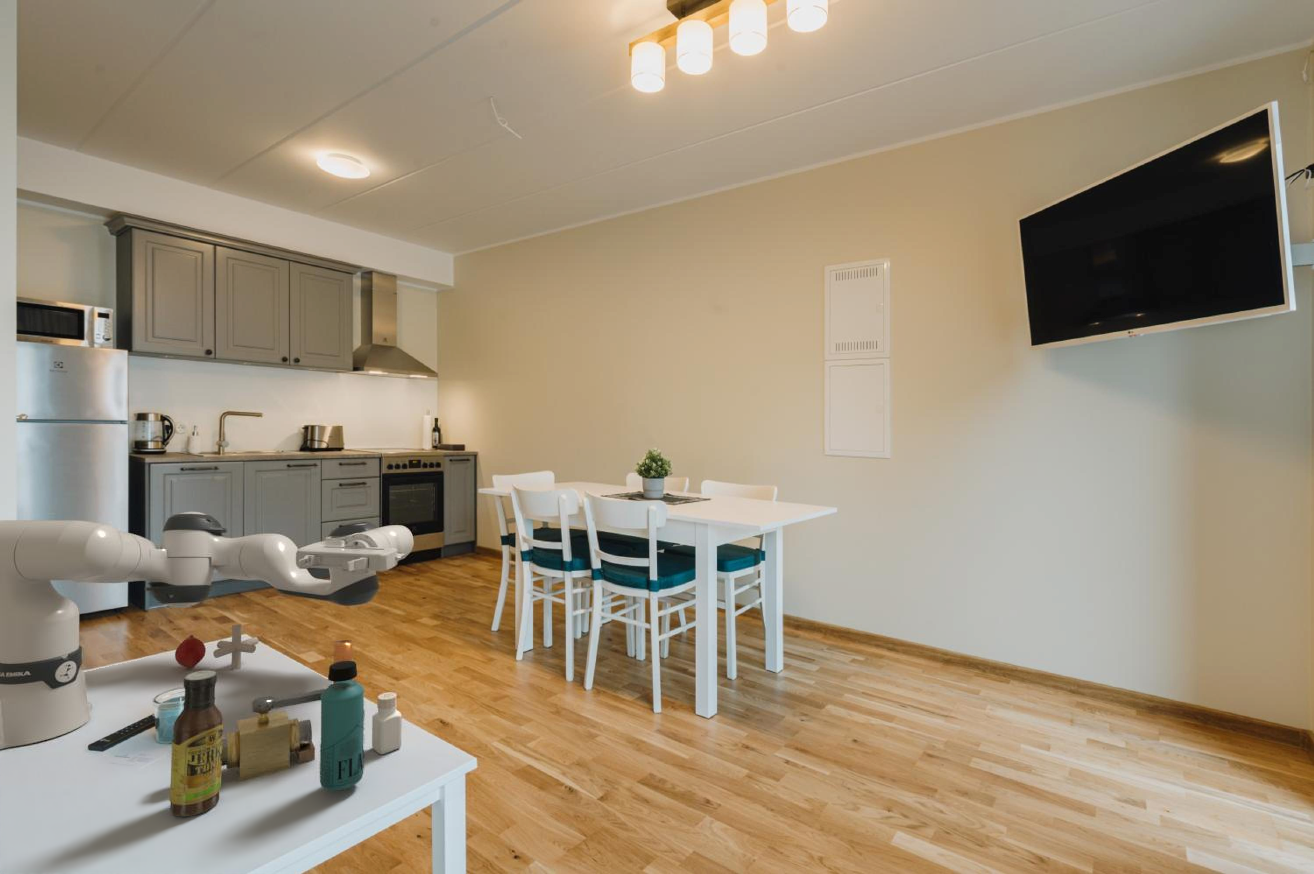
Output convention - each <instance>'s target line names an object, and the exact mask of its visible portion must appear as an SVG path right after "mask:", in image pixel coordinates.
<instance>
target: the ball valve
mask: <svg viewBox="0 0 1314 874" xmlns="http://www.w3.org/2000/svg"><path fill="white" fill-rule="evenodd" d="M312 738H313V730H312V722H311V719H310V718H308V719H305V720H301V721H300V720H299V719H298V717H295V718H290V719H289V718H288V716H287V713H286V710H281V711H275V712H272V713H270V711H267V712H262V713H257V716H254V717H253V716H252V717H248V718H244V719H240V720H237V721H236V731H233V732H229V733H226V734H225V738H224V739H223V741H222V767H224V766H226V770H231V769H234V768H237V774H238V778H239V782H242V781H245V780H248V779H252V778H256V777H260V776H263V775H267V774H270V773H275V772H278V771H282V770H286V769H289V768H290V754H294V755H295V754H296V755H295V756H296V759H297V762H298V764H303V763H307V762H310V760H311V761H314V760H315V758H316V755H315V754H316V747H315V745H314V742H313V741H312V740H313V739H312Z"/></svg>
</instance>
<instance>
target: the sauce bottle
mask: <svg viewBox="0 0 1314 874" xmlns="http://www.w3.org/2000/svg"><path fill="white" fill-rule="evenodd" d="M217 675H218V674H217V672H216V671H214V670H199V671H194V672H191V673H189V674H187V675H186V676H184V678H183V687H184V702H183V709H182V711H181V712H180V713H179V714H178V716H177V718H176V719H175V721H174V724H173V737H172V740H171V761H170V762H171V767H170V768H171V769H170V784H169V785H170V786H169V787H170V788H169V789H170V790H169V802H170V806H169V812H170V813H171V814H172V815H173V816H174V817H176V816H177V817H190V816H195V815H198V814H201V813H204V812H207V811H209V810H210V809H212V808H213V807H215V806H216V805H217V804H218V803H219V801H220V790H221V787H222V767H223V766H222V741H223V736H224V725H223V721H224V720H223V714H222V712H221V710H220V709H219V708H218V707H217V705H216V704H215V703H216V701H215V700H216V697H215V691H216V690H215V689H216V688H215V687H216V683H217V679H218V676H217Z"/></svg>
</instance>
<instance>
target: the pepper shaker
mask: <svg viewBox="0 0 1314 874" xmlns="http://www.w3.org/2000/svg"><path fill="white" fill-rule="evenodd" d="M397 699H398V695H397V692H393V691H391V692H390V691H389V692H383V693H381V694H379V695H378V696H377V706H376V708H377V712H375V713H374V714H373V715H372V721H371V723H372V725H371V727H372V728H371V729H372V730H371V748H372V749H373V750H374V751H376V752H377V753H378V754H379V755H384V754H387V753H390V752H393V751H395V750H398V749H401V747H402V724H403V723H402V721H403V720H402V717H403V716H402V713H401V712H400V711H399V710H397V705H398V700H397Z"/></svg>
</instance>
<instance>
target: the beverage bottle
mask: <svg viewBox="0 0 1314 874" xmlns="http://www.w3.org/2000/svg"><path fill="white" fill-rule="evenodd" d="M357 676H358V668H357V663H356V661H354V660H352V661H340V662H337V663H334V662H333V663H332V664H330V665H329V668H328V676H327V677H328V678H327V679H328V681H330V682H335V683H331V684H330V685H328V686H327V687H326V688H324V689H325V690H324V691H323V692H322V694H321V700H320V701H321V702H320V746H319V748H320V751H319V752H320V754H319V759H320V760H319V763H318V764H319V771H318V773H319V783H320V786H321V788H323V789H324V790H327V791H340V790H344V789H349V788H350V787H353V786H355V785H356V784H358V783H359V782H360V781H361V780H362V778H363V775H364V772H365V765H364V759H365V749H364V744H365V737H364V734H365V733H364V730H365V729H366V728H365V727H364V726H365V714H366V713H365V711H366V709H365V706H364V705H365V700H364V698H365V697H364V696H365V694H364V693H365V688H364V686H362V685H361V684H360V683H359V682H357V681H355V680H353V679H356V677H357ZM351 679H352V680H351Z"/></svg>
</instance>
